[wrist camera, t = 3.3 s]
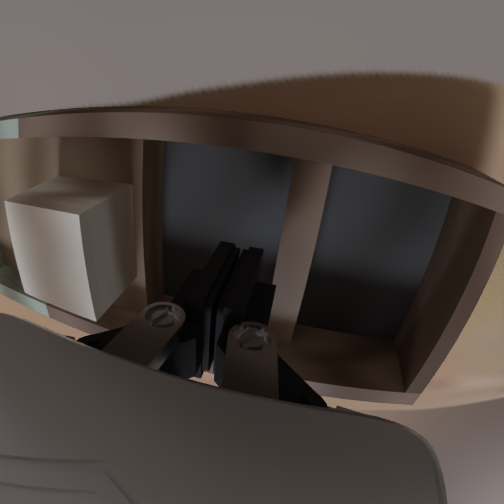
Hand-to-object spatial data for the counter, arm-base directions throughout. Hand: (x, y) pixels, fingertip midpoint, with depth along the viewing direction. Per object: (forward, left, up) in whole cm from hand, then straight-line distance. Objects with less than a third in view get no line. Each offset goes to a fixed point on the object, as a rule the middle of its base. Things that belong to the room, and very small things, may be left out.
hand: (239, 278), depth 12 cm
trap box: (+5, 0, -4) cm, 7 cm away
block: (+8, 0, -2) cm, 8 cm away
